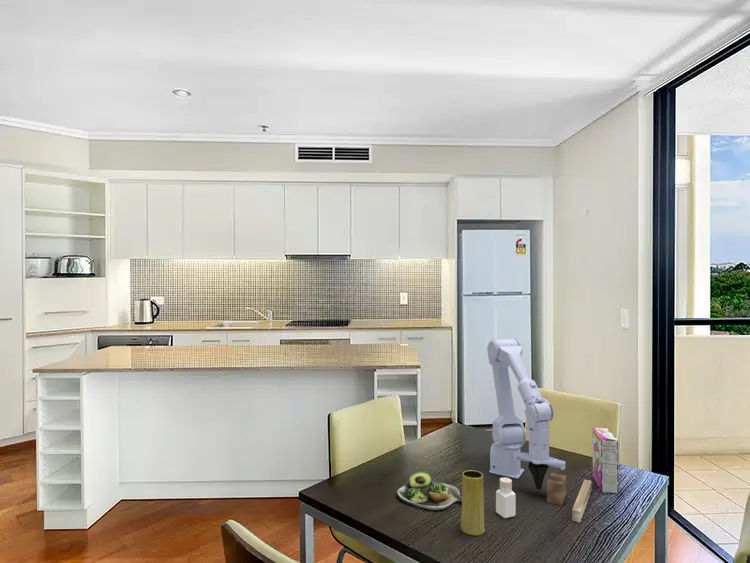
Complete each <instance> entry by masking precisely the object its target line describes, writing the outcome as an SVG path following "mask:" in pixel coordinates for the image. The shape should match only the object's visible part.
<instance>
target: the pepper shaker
mask: <svg viewBox="0 0 750 563" xmlns="http://www.w3.org/2000/svg"><path fill="white" fill-rule="evenodd" d="M512 484H513V480H512V478H510V477H500V478H499V488H498V489H497V490H496V491H495V512H496V513H497V514H498V515H499V516H501V517H502V518H503V519H507V518H512V517H515V516H516V504H517V503H516V502H517V500H516V499H517V498H516V497H517V496H516V493H515V492H514V491H513V490H512V488H513V485H512Z"/></svg>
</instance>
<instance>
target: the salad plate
mask: <svg viewBox="0 0 750 563" xmlns="http://www.w3.org/2000/svg"><path fill="white" fill-rule="evenodd" d="M396 496H397V498H398V499H399V500H400V501H401V502H403V503H405V504H406V505H410V506H414V507H417V508H421V509H427V510H431V511H441V510H446V509H448V508H450V507H451V506H452V505H453V504H454V503H456V502H462V495H460V490H459V489H458V488H457V487H456V486H454V485H451V484H448V483H443V482H441V481H439V480H437V479H436V478H435V477H433V476H431V474H429V473H428V472H424V471H417V472H415V473H413V474H412V475H411V476H409V478H408V482H407V483H406V484H405V485H403V486H402V487H399V488H398V489H397V491H396ZM426 502H435V503H439V504H438V505H426V504H425V505H424V504H421V503H426Z"/></svg>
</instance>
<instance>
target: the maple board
mask: <svg viewBox="0 0 750 563" xmlns="http://www.w3.org/2000/svg"><path fill="white" fill-rule="evenodd" d="M591 493H592V480H590V479H585V478H584V480H583V482H582V485H581V487H580V490H579V491H578V494H577V497H576V500H575V501H574V504H573V507H572V509H571V510H572V511H571V515H572V516H571V517H572V518H571V521H572V522H574V521H575V522H574V523H579V524H581V523H580V522H582V520H581V519H583V518H584V517H583V516H584V515H585V510H586V508H587V505H588V503H589V502H588V501H589V499H590V496H591Z"/></svg>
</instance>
